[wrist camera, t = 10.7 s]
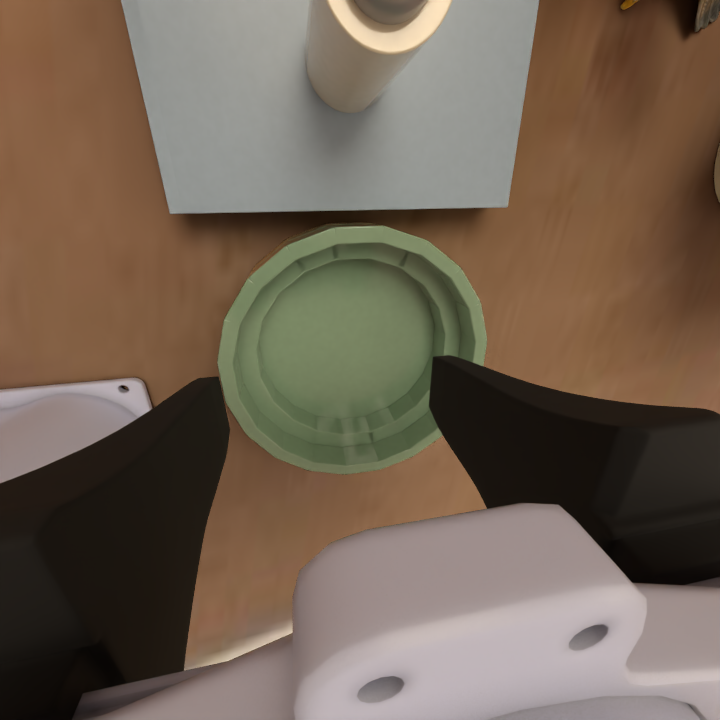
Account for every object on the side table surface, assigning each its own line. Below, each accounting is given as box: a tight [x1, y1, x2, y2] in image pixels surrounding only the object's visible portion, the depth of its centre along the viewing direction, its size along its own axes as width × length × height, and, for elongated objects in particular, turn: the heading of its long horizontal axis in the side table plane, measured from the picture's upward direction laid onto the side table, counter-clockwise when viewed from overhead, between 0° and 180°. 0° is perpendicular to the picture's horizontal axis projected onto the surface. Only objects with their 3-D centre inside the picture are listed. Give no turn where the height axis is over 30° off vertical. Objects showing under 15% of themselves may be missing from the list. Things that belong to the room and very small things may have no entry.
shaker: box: [304, 0, 452, 113], centre depth 10 cm, size 4×4×8 cm
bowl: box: [217, 222, 487, 475], centre depth 19 cm, size 14×14×4 cm
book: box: [121, 0, 539, 214], centre depth 15 cm, size 16×11×2 cm
